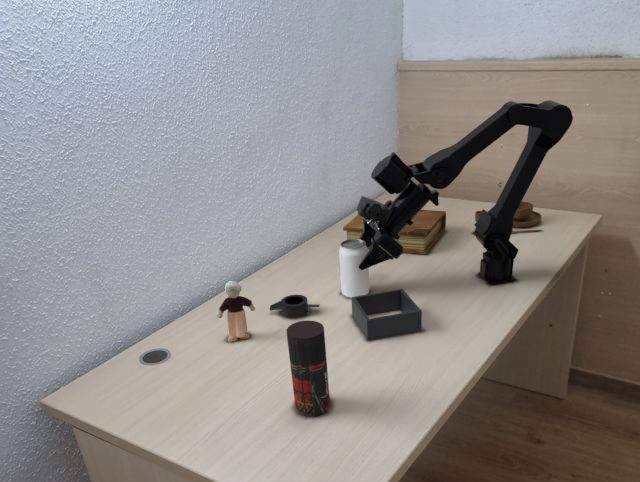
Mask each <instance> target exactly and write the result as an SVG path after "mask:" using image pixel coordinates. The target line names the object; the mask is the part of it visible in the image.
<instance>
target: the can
mask: <svg viewBox="0 0 640 482" xmlns="http://www.w3.org/2000/svg"><path fill="white" fill-rule="evenodd" d="M368 252H369V249H368V248H367V246H366V242H365V241H363V240H360V239H350V240H347V239H346V240H343V241H342V242H341V243H340V247H339V249H338V255H339V256H338V257H339V274H340V275H339V276H340V289H341V294H342V295H343V296H344V297H346V298H349V299H352V298H351V297H356V296H362V295H368V294H370V267H369V268H366V269H364V270H361V269H359V267H358V266H359V265H360V263H361V262H362V260H363V259H364V257H365V256H366V254H367V253H368Z"/></svg>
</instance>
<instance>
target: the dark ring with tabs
mask: <svg viewBox="0 0 640 482" xmlns="http://www.w3.org/2000/svg"><path fill="white" fill-rule="evenodd" d="M320 306H321V305H320V304H309V301H308V297H307V296H305V295H302V294H290V295H287V296H285V297H283V298H281V300H279V301H277V302H275V303H273V304H270V305H269V311H270V312H271V311H281V313H282V316H283V317H284V318H286V319H299V318H303V317H305V316H307V315H308V313H309V308H320Z"/></svg>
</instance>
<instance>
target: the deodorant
mask: <svg viewBox="0 0 640 482" xmlns="http://www.w3.org/2000/svg"><path fill="white" fill-rule="evenodd" d="M286 340H287V347H288V355H289V356H288V357H289V364H290V373H291V381H292V390H293V398H294V406H295V407H294V408H295V411H296V412H297V413H298V414H299V415H300V416H304V417H307V418H314V417H319V416H322V415H324V414H326V413H327V412H328V411H329V410H330V408H331V399H330V385H329V373H328V361H327V349H326V336H325V326H324V325H323V324H322V323H321V322H319V321H316V320H301V321H300V320H299V321H297V322H293V323H291V324H290V325H288V326H287V328H286Z"/></svg>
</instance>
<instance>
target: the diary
mask: <svg viewBox="0 0 640 482" xmlns="http://www.w3.org/2000/svg"><path fill="white" fill-rule="evenodd" d="M363 219H365V218H364V217H362V216H360V215H358V214H357V215H356V216H355V217H353V218H352V219H350V221H348V223H346V224H345V225H344V226H343V227H342V230H343V231H346V240H350V239H359V238H360V236H361V234H362V232H363V229H364V228H363ZM365 220H366V219H365ZM412 221H413V224H412V225H411V226H410V225H408V224H407V226H406V227H405V228H404V229H403V230H402V231H401V232H400V233H399V236H400V238H399V239H398V241H400V243H401V245H402V247H403V253H407V254H420V255H427V254H428V253H429V251H430V250H431V249H432V247H434V245H435V244H436V243H437V242H438V240H439V239H440V238H441V236H442V235H443V234H444V233H445V231H446V227H447V211H445V210H432V209H431V210H429V209H421V210H420V211H419V212H418V214H417V215H416V216H415V217H414V218H413V219H412ZM371 247H372V245H371V246H370V247H368V250H370V249H371Z"/></svg>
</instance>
